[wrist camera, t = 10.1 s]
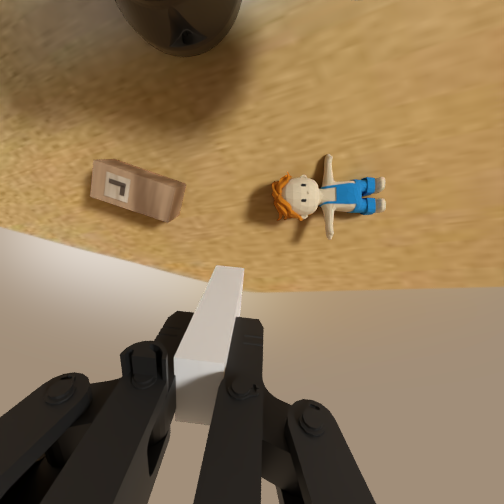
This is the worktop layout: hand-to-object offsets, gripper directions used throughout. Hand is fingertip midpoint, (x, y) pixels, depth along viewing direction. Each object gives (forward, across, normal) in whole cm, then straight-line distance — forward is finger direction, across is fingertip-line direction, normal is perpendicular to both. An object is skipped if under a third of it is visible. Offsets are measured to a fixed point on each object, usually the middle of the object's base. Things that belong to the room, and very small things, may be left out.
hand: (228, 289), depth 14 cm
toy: (+27, +10, +2) cm, 29 cm away
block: (+24, -11, -1) cm, 26 cm away
